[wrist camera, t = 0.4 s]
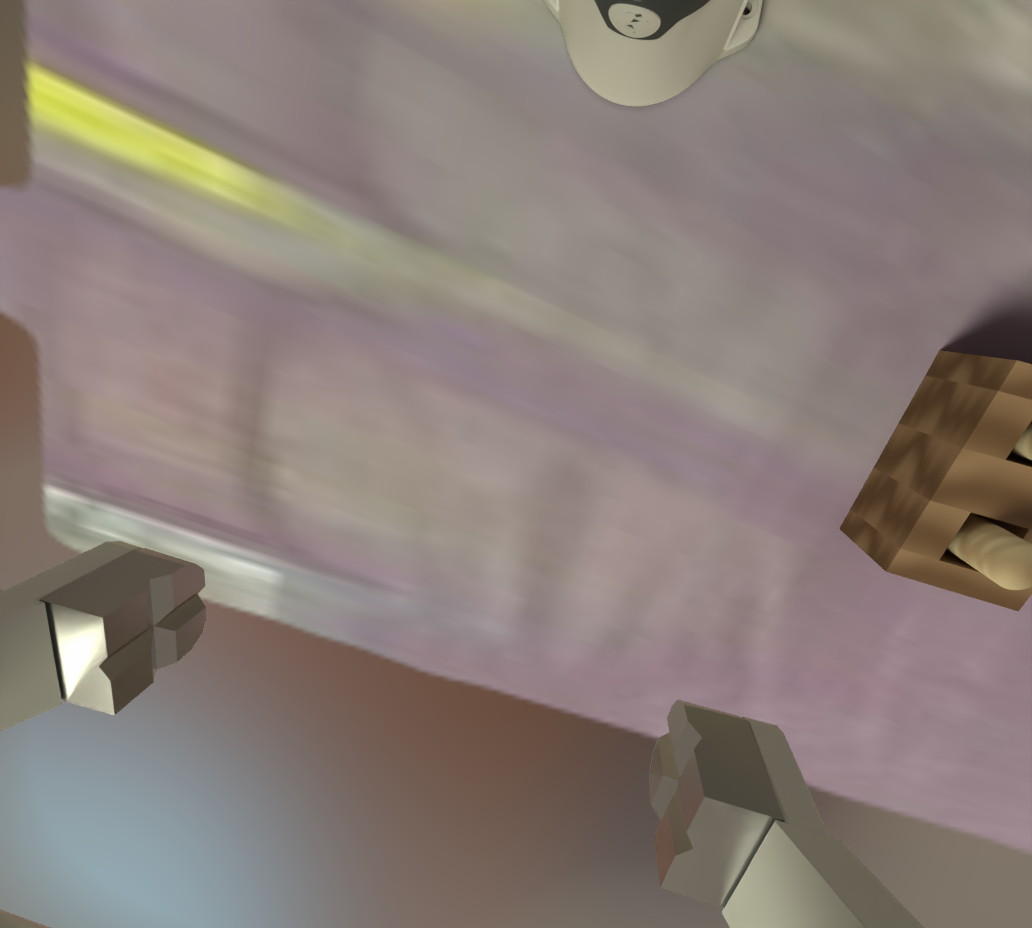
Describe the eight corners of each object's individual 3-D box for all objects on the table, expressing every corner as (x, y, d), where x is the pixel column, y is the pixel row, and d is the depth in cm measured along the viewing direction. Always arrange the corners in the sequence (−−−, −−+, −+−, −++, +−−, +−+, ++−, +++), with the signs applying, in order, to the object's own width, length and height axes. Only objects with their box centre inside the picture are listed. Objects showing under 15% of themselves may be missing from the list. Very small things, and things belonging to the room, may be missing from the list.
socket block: (939, 350, 46) (1017, 360, 37) (1068, 384, 45) (1177, 403, 37) (839, 528, 53) (886, 571, 44) (949, 561, 52) (1018, 611, 43)
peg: (942, 501, 45) (1010, 540, 38) (985, 513, 45) (1062, 555, 38) (919, 537, 47) (981, 581, 39) (961, 549, 46) (1031, 596, 39)
